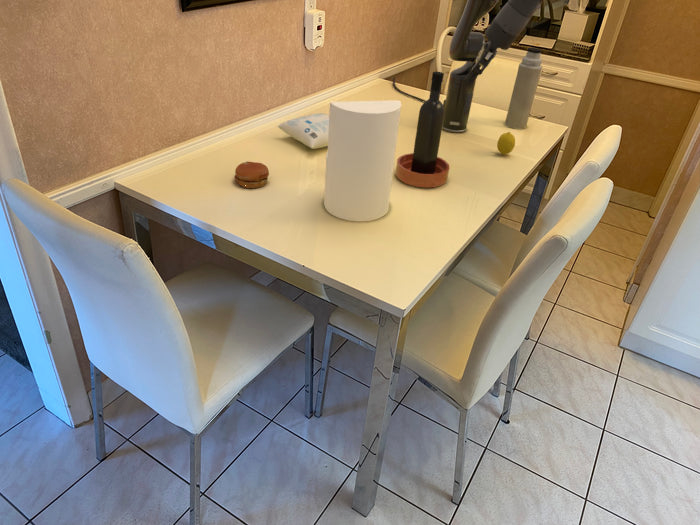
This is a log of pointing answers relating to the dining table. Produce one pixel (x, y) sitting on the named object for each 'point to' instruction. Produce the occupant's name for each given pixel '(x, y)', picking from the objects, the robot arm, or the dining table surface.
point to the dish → (418, 178)
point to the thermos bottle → (524, 89)
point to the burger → (251, 174)
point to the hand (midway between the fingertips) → (468, 78)
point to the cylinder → (360, 158)
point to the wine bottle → (429, 129)
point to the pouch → (308, 129)
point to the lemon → (506, 143)
